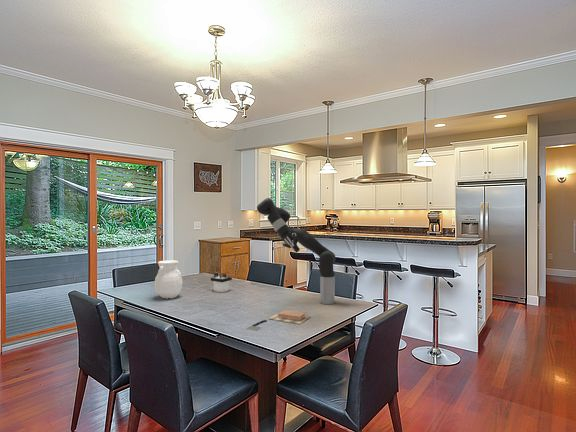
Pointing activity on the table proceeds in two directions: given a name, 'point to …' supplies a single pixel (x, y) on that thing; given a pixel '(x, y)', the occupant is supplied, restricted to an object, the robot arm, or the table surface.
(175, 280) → the white vase
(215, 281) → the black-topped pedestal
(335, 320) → the table surface
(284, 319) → the board
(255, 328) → the kitchen knife
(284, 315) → the tile
